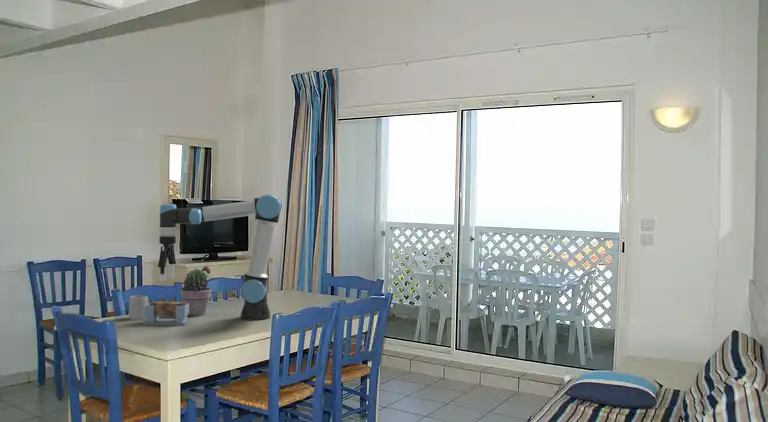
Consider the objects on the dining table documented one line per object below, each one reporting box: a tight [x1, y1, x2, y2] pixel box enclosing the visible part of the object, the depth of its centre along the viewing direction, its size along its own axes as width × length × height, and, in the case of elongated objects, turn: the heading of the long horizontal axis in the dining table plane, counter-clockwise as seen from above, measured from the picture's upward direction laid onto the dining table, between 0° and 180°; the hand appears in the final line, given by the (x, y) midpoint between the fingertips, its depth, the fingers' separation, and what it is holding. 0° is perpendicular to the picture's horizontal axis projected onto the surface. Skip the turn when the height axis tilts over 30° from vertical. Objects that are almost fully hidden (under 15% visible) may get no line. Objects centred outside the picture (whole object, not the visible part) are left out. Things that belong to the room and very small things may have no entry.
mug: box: [128, 294, 150, 321], centre depth 315 cm, size 12×8×11 cm
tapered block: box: [149, 301, 184, 317], centre depth 304 cm, size 15×4×6 cm, turn 92°
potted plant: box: [179, 265, 212, 317], centre depth 327 cm, size 18×20×25 cm
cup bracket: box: [142, 302, 191, 326], centre depth 304 cm, size 20×10×9 cm, turn 92°
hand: (166, 279), depth 304 cm, fingers open, 13 cm apart
